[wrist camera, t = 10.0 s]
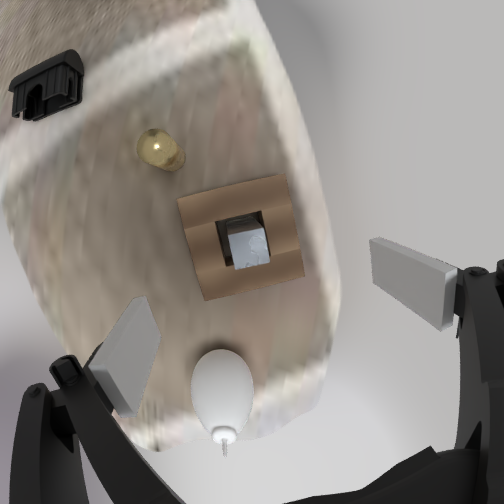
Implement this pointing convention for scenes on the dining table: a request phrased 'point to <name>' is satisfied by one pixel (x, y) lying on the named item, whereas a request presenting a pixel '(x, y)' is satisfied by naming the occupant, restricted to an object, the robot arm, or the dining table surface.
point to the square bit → (247, 242)
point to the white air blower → (222, 395)
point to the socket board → (234, 204)
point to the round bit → (160, 150)
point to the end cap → (48, 87)
